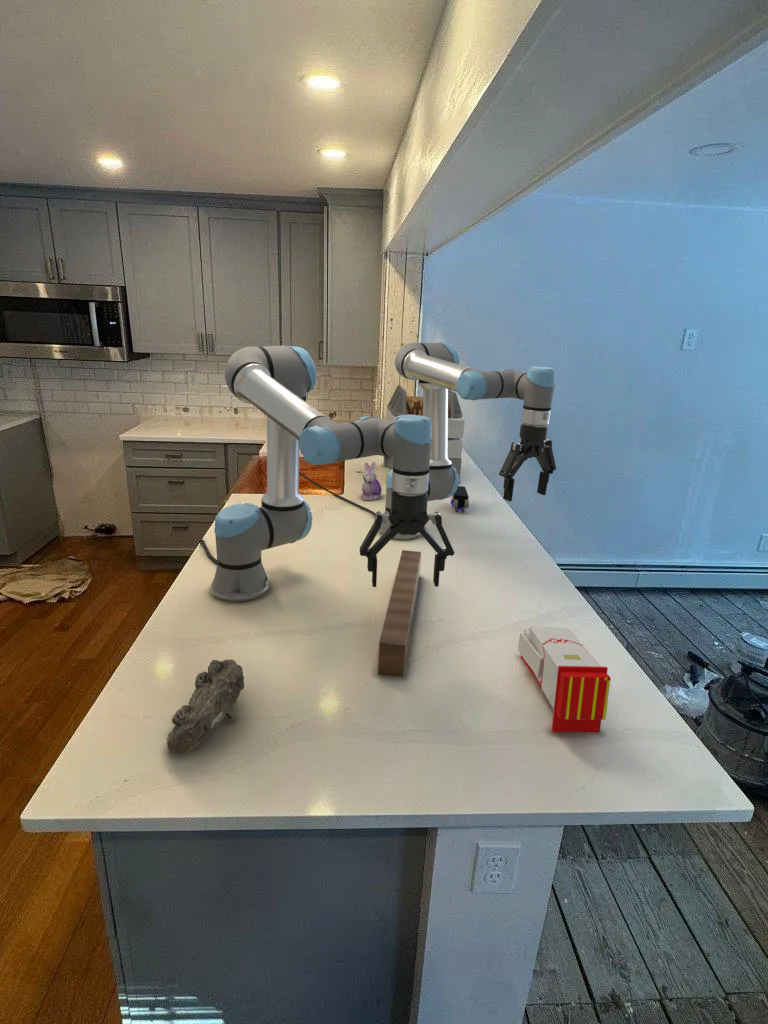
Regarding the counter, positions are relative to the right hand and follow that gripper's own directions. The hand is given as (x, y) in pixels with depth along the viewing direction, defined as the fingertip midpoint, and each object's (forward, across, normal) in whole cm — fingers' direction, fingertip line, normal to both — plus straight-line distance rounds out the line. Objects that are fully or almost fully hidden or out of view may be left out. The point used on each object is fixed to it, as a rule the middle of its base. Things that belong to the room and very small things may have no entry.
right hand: (524, 496), depth 165 cm
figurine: (+25, -2, +82) cm, 86 cm away
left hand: (+7, -54, -19) cm, 58 cm away
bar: (+25, -45, -6) cm, 52 cm away
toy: (+25, -32, -45) cm, 61 cm away
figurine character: (+25, +23, +55) cm, 65 cm away
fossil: (+25, -98, -20) cm, 103 cm away
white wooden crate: (+26, +38, +104) cm, 114 cm away
